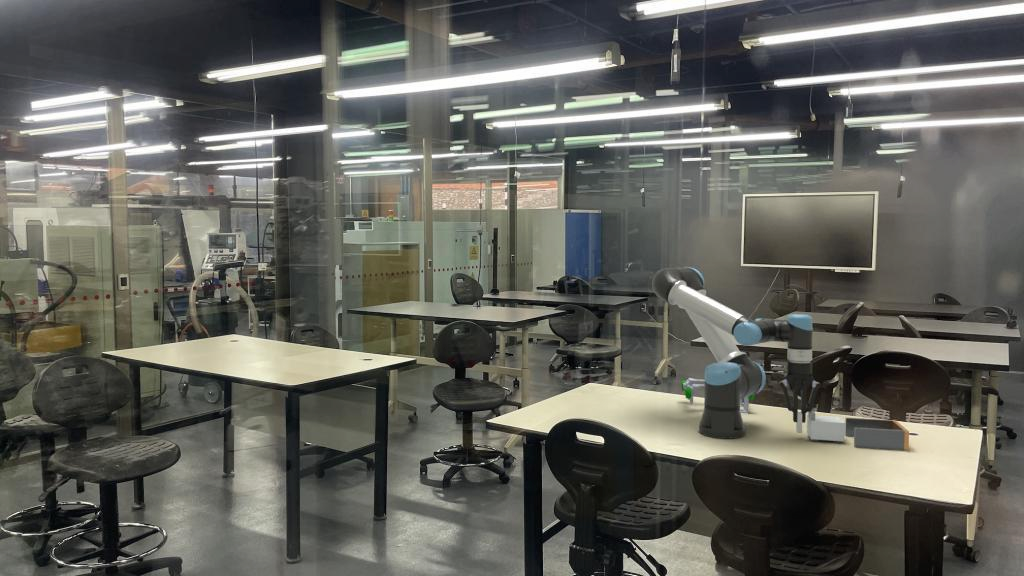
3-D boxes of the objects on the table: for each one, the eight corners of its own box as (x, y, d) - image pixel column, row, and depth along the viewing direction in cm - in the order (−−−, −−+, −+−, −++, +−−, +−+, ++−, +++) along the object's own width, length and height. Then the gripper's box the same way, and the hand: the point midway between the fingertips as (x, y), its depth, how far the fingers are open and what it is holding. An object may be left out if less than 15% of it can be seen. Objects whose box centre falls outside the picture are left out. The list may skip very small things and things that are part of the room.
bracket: (681, 401, 280) (681, 377, 280) (744, 403, 277) (744, 379, 276) (686, 412, 262) (686, 386, 261) (753, 414, 258) (754, 388, 258)
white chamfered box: (810, 441, 221) (811, 413, 221) (806, 435, 229) (807, 408, 228) (844, 443, 219) (845, 415, 218) (839, 437, 226) (839, 409, 226)
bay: (854, 447, 215) (855, 428, 215) (845, 435, 229) (845, 417, 229) (908, 450, 211) (909, 431, 211) (895, 438, 225) (895, 420, 225)
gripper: (780, 362, 223) (779, 433, 224) (822, 363, 219) (822, 436, 220) (777, 359, 230) (777, 428, 231) (819, 360, 226) (818, 430, 227)
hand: (799, 432), depth 225 cm, fingers closed
